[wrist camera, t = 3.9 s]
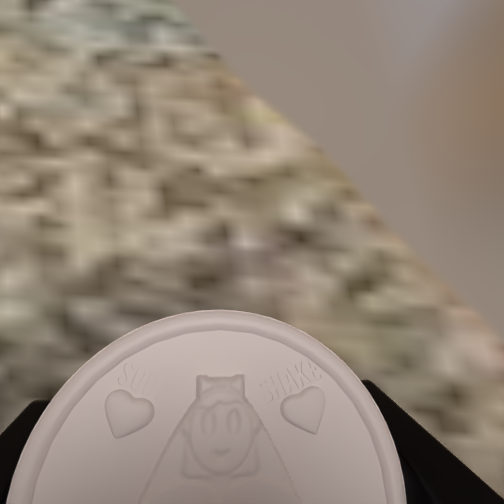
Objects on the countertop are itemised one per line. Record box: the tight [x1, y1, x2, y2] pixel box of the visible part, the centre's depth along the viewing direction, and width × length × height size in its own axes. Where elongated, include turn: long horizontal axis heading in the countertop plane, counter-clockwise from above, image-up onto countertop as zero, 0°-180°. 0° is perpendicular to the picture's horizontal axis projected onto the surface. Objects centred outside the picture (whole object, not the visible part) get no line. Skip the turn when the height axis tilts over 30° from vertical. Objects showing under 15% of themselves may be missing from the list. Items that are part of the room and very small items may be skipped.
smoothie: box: [6, 310, 407, 504], centre depth 9 cm, size 6×6×14 cm
